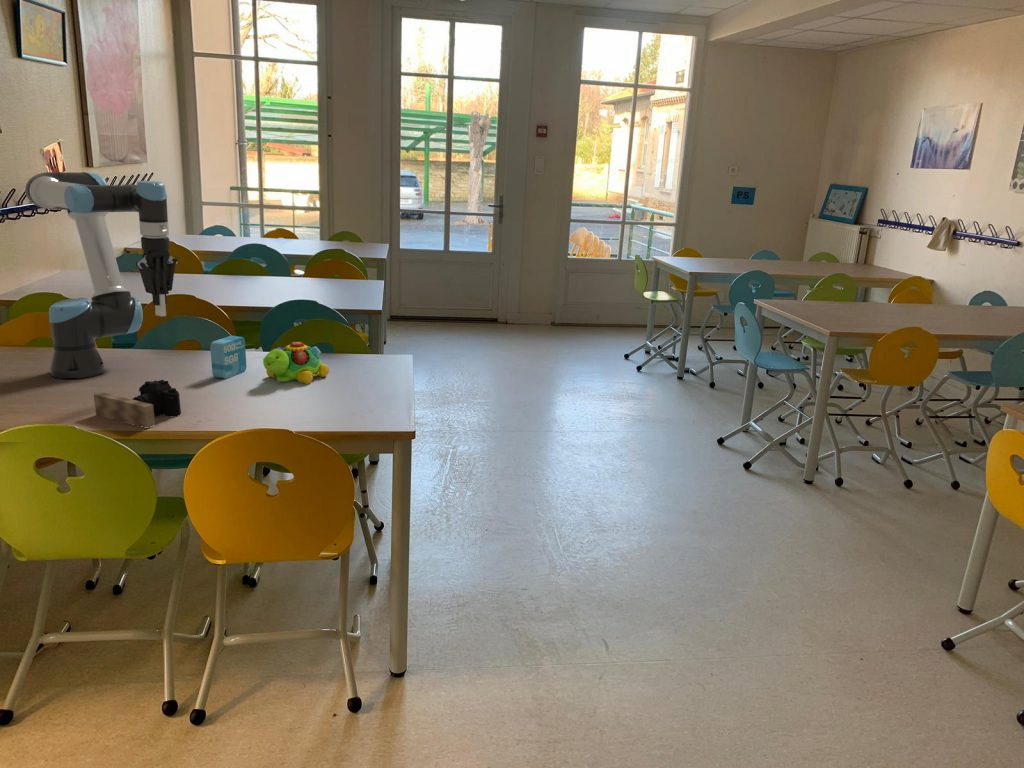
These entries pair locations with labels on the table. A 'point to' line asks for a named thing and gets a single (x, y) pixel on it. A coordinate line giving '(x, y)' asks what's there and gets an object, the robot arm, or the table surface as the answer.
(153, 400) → the film camera
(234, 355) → the data package
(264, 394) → the table surface
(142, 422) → the stone brick
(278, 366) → the turtle toy
